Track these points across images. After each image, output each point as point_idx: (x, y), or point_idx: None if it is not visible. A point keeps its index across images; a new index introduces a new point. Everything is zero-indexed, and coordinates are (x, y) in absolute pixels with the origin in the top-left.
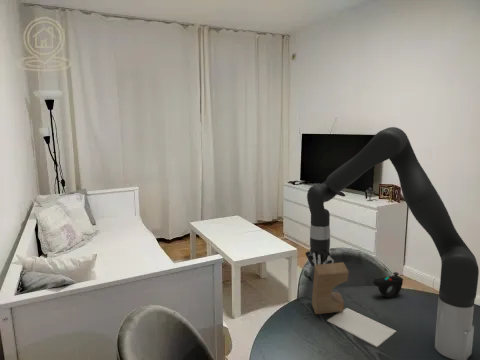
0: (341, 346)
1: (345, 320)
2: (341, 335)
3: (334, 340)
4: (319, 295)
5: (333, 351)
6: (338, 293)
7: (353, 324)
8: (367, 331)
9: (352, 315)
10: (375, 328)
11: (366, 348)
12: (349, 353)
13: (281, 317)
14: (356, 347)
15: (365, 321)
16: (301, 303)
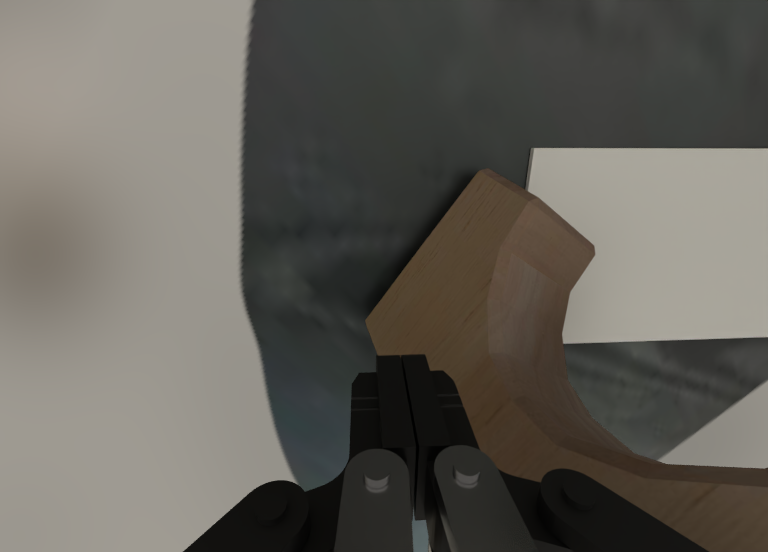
0: (638, 428)
1: (585, 278)
2: (610, 377)
3: (599, 421)
4: None
5: None
6: (539, 224)
7: (634, 276)
8: (716, 276)
9: (598, 202)
10: (749, 220)
11: (730, 369)
12: (678, 435)
13: (325, 470)
14: (691, 393)
15: (684, 199)
16: (286, 316)
